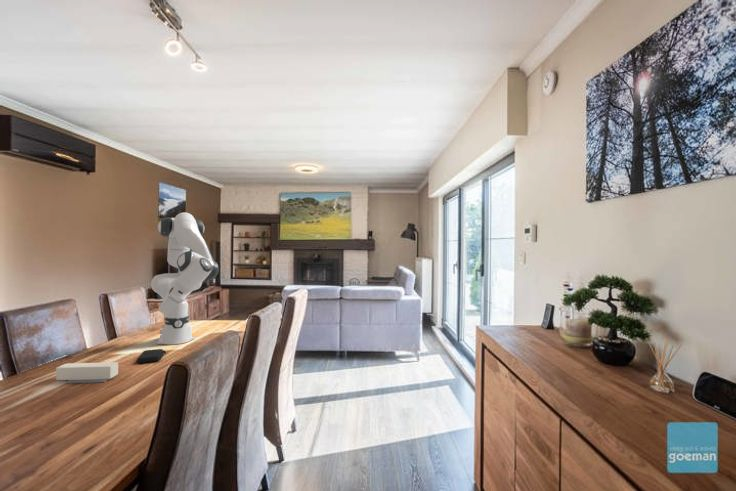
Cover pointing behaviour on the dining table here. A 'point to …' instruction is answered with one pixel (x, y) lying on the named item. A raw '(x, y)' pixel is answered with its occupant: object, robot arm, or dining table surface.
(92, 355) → the dining table surface
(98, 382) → the slate mat
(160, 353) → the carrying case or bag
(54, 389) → the dining table surface
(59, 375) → the cream block
